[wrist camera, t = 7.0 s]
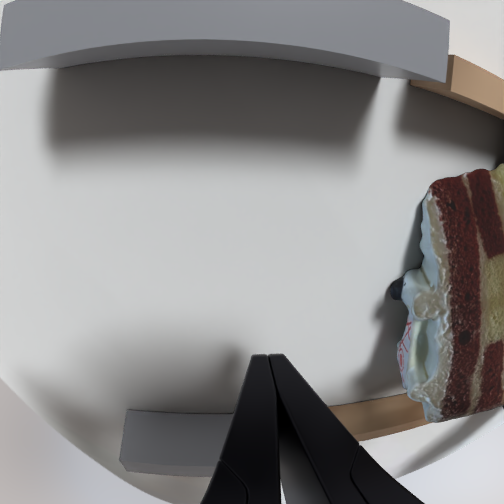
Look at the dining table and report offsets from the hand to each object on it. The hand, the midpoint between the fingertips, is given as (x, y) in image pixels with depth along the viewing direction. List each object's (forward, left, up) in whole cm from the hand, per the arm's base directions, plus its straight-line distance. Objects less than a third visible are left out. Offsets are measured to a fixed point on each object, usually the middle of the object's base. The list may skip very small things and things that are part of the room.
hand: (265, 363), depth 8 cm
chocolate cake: (-9, -1, -4) cm, 9 cm away
